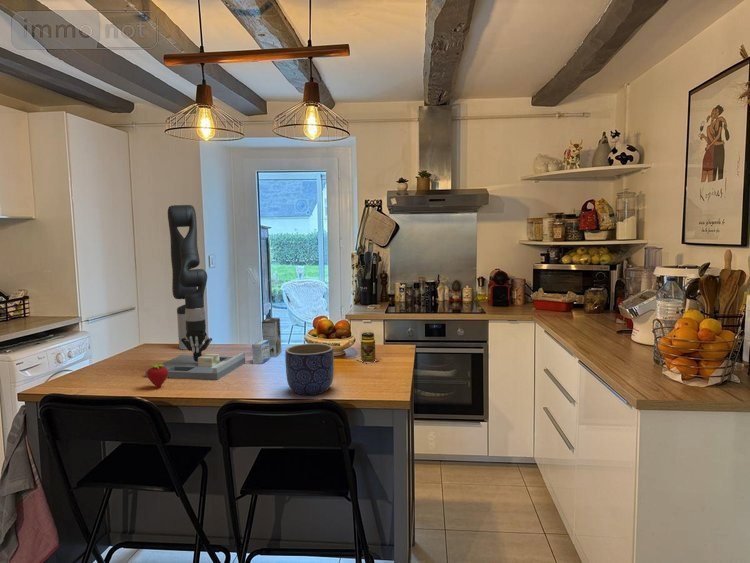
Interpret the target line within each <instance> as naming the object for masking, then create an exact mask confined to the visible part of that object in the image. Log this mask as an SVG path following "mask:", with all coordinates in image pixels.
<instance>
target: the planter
mask: <svg viewBox="0 0 750 563" xmlns="http://www.w3.org/2000/svg"><path fill="white" fill-rule="evenodd" d="M284 351H285V353H284V354H285V355H284V356H285V357H284V358H285V375H286V376H285V377H286V381H287V385H288V386H289V388H290V389H291V391H293V392H294V393H295V394H296V393H297V394H298V393H299V395H302V394H314V395H318V394H322V393H325V392H326V391H327V390H329V388H330V387H331V386H332V383H333V381H334V376H335V375H334V374H335V373H334V372H335V358H334V347H333V346H332V345H330V344H326V343H319V342H318V343H316V342H315V343H314V342H313V343H310V342H307V343H301V344H295V345H291V346H289V347H287V348H286V349H285V350H284Z"/></svg>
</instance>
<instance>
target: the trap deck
mask: <svg viewBox="0 0 750 563" xmlns="http://www.w3.org/2000/svg"><path fill="white" fill-rule="evenodd" d="M219 359H220V363H218V364H216V365H214V366H212V367H208V366H198V362H196V361H195V360H194V359H193V355H185V354H184V355H183V354H182V355H178V356H176V357H174V358H171V359H169V360H167V361H164V362H162V363H161V364H163V365H165V366H163V367H165V368H167V369H168V376H167V377H169V378H168V379H181V378H190V379H189V380H210V381H218V380H219V379H221V378H223V377H225V376H226V375H228V374H229V373H232V372H233V371H235V370H236V369H238V368H239V367H241V366H243V365H244V364H246V352H240V353H238V354H236V355H234V356H220V355H219ZM157 365H158V364H157ZM158 366H159V365H158ZM149 369H150V368H148V369H146V370H144V371H145V377H146V378H148V376H147V371H148V370H149Z"/></svg>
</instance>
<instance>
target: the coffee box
mask: <svg viewBox="0 0 750 563" xmlns="http://www.w3.org/2000/svg"><path fill="white" fill-rule="evenodd" d="M261 330H262V331H261V335H262V340H269V351H270V358H277V357H278V356H279V355H280V354H281V353H282V339H281V337H282V336H281V334H282V333H281V318H279V317H267V318H265V319H264V320H262V321H261Z"/></svg>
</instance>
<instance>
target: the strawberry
mask: <svg viewBox="0 0 750 563" xmlns="http://www.w3.org/2000/svg"><path fill="white" fill-rule="evenodd" d="M159 363H160V360H158V362H157V364H153V365H151V366H150V368H148V369H149V370H148V369H147V370H148V371H147V376H148V377H147V378H148V380H149V381H150V382H151V383H152V384H153V386H154V387H156V388H157V387H159V388H161V386H163V384H164V383H165V381H166V380H167V379H168V378H167V376H168V369H167V368H165V367H163V366H165V365H163V364H162V363H160V364H159ZM158 365H159V366H158Z"/></svg>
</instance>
